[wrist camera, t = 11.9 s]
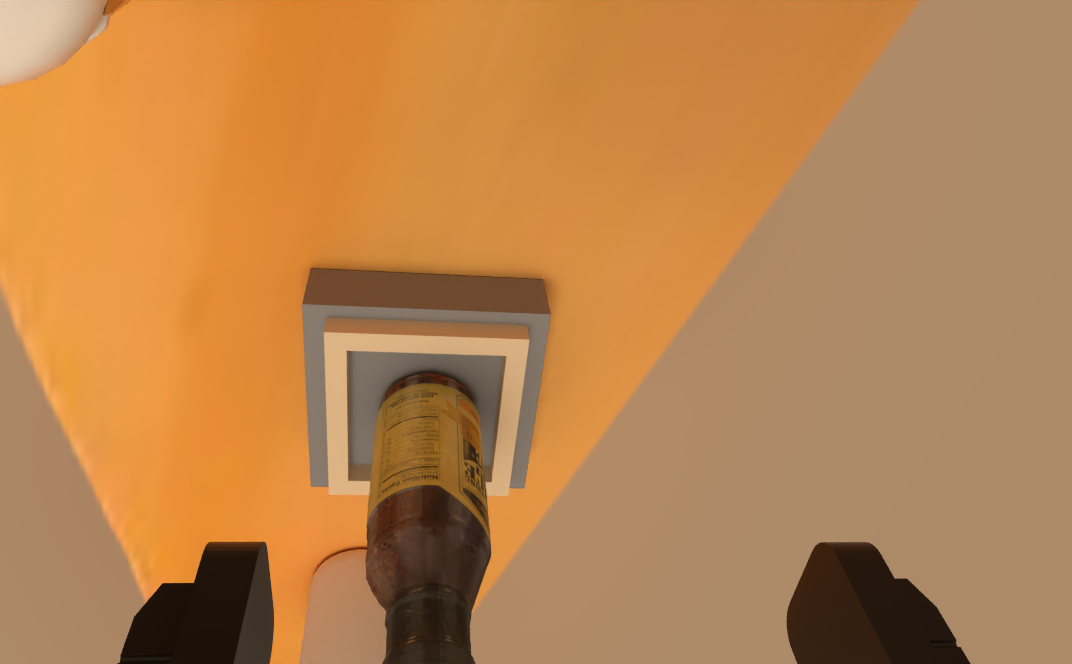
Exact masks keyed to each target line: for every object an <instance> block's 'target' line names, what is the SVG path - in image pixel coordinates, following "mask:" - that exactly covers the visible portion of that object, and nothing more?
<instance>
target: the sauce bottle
mask: <svg viewBox="0 0 1072 664" xmlns="http://www.w3.org/2000/svg"><path fill="white" fill-rule="evenodd" d="M367 542H368V543H367V553H366V560H365V563H366V579H367V582H368V585H369V586H370V589H371V591H372V593H373V595H374V596H375V597H376V599H377V601H378V603H379V604H380V605H381V606H382V607H383V608H384V609H385V611H386V617H385V627H386V630H387V635H386V656H385V659H384V661H383V663H382V664H475V661H474V659H473V657H472V656H471V643H470V620H471V612H472V609H473V606H474V603H475V600H476V597H477V594H478V591H479V589H480V586H481V583H482V580H483V577H484V574H485V571H486V568H487V566H488V563H489V561H490V558H491V540H490V528H489V518H488V507H487V492H486V483H485V471H484V461H483V449H482V438H481V427H480V417H479V414H478V411H477V409H476V407H475V404H474V401H473V399H472V397H471V395H470V393H469V392H468V390H467V388H466V387H465V386H463V384H461V383H459V382H458V381H457V380H454V379H450V378H448V377H446V376H442V375H439V374H431V373H424V374H417V375H413V376H410V377H406V378H404V379H403V380H400V381H398V382H396V383H394V384H393V385H392V386H391V387H390V389H389V390H388V391H387V392H386V394H385V395H384V398H383V400H382V402H381V405H380V409H379V412H378V414H377V418H376V423H375V436H374V446H373V457H372V469H371V480H370V492H369V503H368V515H367Z"/></svg>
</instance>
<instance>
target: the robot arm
mask: <svg viewBox="0 0 1072 664" xmlns="http://www.w3.org/2000/svg"><path fill="white" fill-rule="evenodd" d="M273 631H274V609H273V599H272V590H271V580H270V571H269V562H268V552H267V546H266V543H265V542H209V543H208V544H207V545H206V547H205V549H204V552H203V555H202V558H201V561H200V564H199V568H198V571H197V575H196V578H195V581H194V583H163V584H162V585H161V586H160V587H159V588H158V589H157V591H156V592H155V593H154V594H153V595H152V597H151V598H150V599H149V600H148V601H147V602H146V604H145V605H144V606H143V607H142V608H141V610H140V611H139V612H138V613H137V614H136V616H135V617H134V619H133V622H132V625H131V627H130V630H129V633H128V636H127V639H126V642H125V644H124V647H123V650H122V653H121V659H120V663H118V664H269V663H270V657H271V651H272V643H273ZM787 632H788V638H789V642H790V646H791V648H792V651H793V653H794V656H795V659H796V661H797V664H970V662H969V661H968V659H967V657H966V656H965V654H964V652H963V651H962V649H961V647H957V645H956V639H955V637H954V635H953V634H952V632H951V630H950V629H949V627H948V625H947V624H946V622H945V620H944V619H943V617H942V615H941V614H940V612H939V610H938V609H937V607H936V606H935V605H934V604H933V603H932V602H931V601H930V600H929V599H928V598H927V597H925V596H924V595H923V594H922V593H921V592H920V591H919V590H918V589H917V588H916V587H915V586H914V585H913V584H912V583H911V582H910V581H909V580H908V579H895V578H894V577H893V575H892V573H891V571H890V570H889V568H888V566H887V564H886V563H885V561H884V559H883V558H882V555H881V554H880V552H879V551H878V549H877V548H876V547H875V546H873V545H872V544H870V543H867V542H846V543H845V542H824V543H823V542H822V543H819V544H817V545H816V546H815V548H814V549H813V551H812V553H811V555H810V558H809V560H808V562H807V565H806V567H805V569H804V572H803V574H802V576H801V578H800V581H799V583H798V585H797V588H796V590H795V592H794V595H793V597H792V599H791V601H790V604H789V607H788V611H787Z"/></svg>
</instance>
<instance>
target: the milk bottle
mask: <svg viewBox="0 0 1072 664" xmlns="http://www.w3.org/2000/svg"><path fill="white" fill-rule="evenodd" d="M366 553H367V549H357V550H349V551H345V552H341V553H339V554H336V555H334V556H332V557H330V558H329V559H327V560H325V561H324V562H323V563H322V564H321V565H320V566H319V568H318V569H317V571H316V572H315V574H314V575H313V578H312V582H311V588H310V593H309V600H308V607H307V613H306V620H305V627H304V634H303V641H302V648H301V655H300V663H299V664H382V663H383V661H384V659H385V656H386V635H387V630H386V627H385V617H386V611H385V609H384V608H383V607H382V606H381V605H380V604H379V603H378V601H377V599H376V597H375V596H374V595H373V593H372V591H371V589H370V586H369V585H368V582H367V579H366V563H365V560H366Z"/></svg>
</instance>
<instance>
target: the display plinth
mask: <svg viewBox="0 0 1072 664" xmlns="http://www.w3.org/2000/svg"><path fill="white" fill-rule="evenodd" d="M302 309H303V330H304V351H305V372H306V393H307V415H308V436H309V457H310V478H311V487H329V495H369V492H370V480H371V469H372V457H373V446H374V436H375V423H376V418H377V414H378V412H379V409H380V405H381V402H382V400H383V398H384V395H385V394H386V392H387V391H388V390H389V389H390V387H391V386H392V385H393V384H394V383H396V382H398V381H400V380H403V379H404V378H406V377H410V376H413V375H417V374H424V373H431V374H439V375H442V376H446V377H448V378H450V379H454V380H457V381H458V382H459V383H461V384H463V386H465V387H466V388H467V390H468V392H469V393H470V395H471V397H472V399H473V401H474V404H475V407H476V409H477V411H478V414H479V417H480V427H481V438H482V449H483V461H484V471H485V483H486V492H487V496H508V494H509V488H525V482H526V475H527V469H528V462H529V455H530V449H531V442H532V435H533V429H534V422H535V415H536V409H537V402H538V395H539V389H540V382H541V375H542V369H543V362H544V355H545V349H546V342H547V335H548V329H549V322H550V315H551V314H550V309H549V305H548V300H547V296H546V291H545V287H544V282H543V279H524V278H503V277H482V276H461V275H440V274H419V273H398V272H376V271H355V270H334V269H313V268H311V270H310V274H309V278H308V282H307V286H306V291H305V295H304V299H303V303H302Z"/></svg>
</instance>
